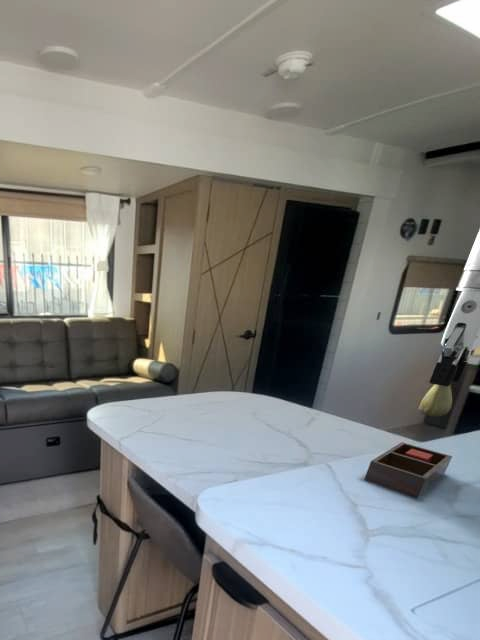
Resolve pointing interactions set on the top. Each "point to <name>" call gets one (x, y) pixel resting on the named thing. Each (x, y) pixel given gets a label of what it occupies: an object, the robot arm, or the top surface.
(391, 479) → the tray
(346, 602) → the top surface
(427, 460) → the red block
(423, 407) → the fennel bulb
